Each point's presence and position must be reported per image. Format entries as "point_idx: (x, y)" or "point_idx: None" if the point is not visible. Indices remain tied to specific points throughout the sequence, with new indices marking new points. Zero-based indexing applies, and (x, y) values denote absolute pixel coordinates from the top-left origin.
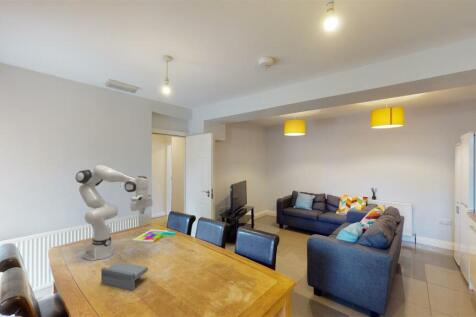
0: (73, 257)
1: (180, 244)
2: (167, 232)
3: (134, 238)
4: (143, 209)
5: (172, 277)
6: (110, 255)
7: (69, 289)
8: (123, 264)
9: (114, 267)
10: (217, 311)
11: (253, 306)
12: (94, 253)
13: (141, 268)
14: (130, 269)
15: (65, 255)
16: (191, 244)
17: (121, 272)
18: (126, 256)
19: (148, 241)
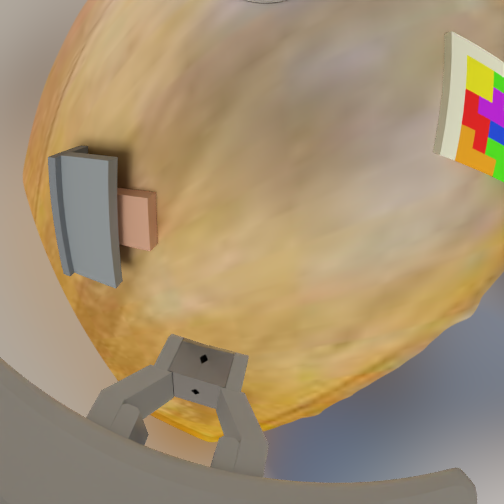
0: None
1: (412, 290)
2: None
3: (470, 41)
4: (232, 437)
5: (161, 323)
6: (265, 1)
7: (52, 87)
8: (98, 197)
9: (77, 179)
10: (118, 380)
11: None
12: None
13: (103, 273)
14: (87, 243)
15: None
16: (401, 328)
17: (58, 237)
18: (274, 79)
19: (443, 132)
